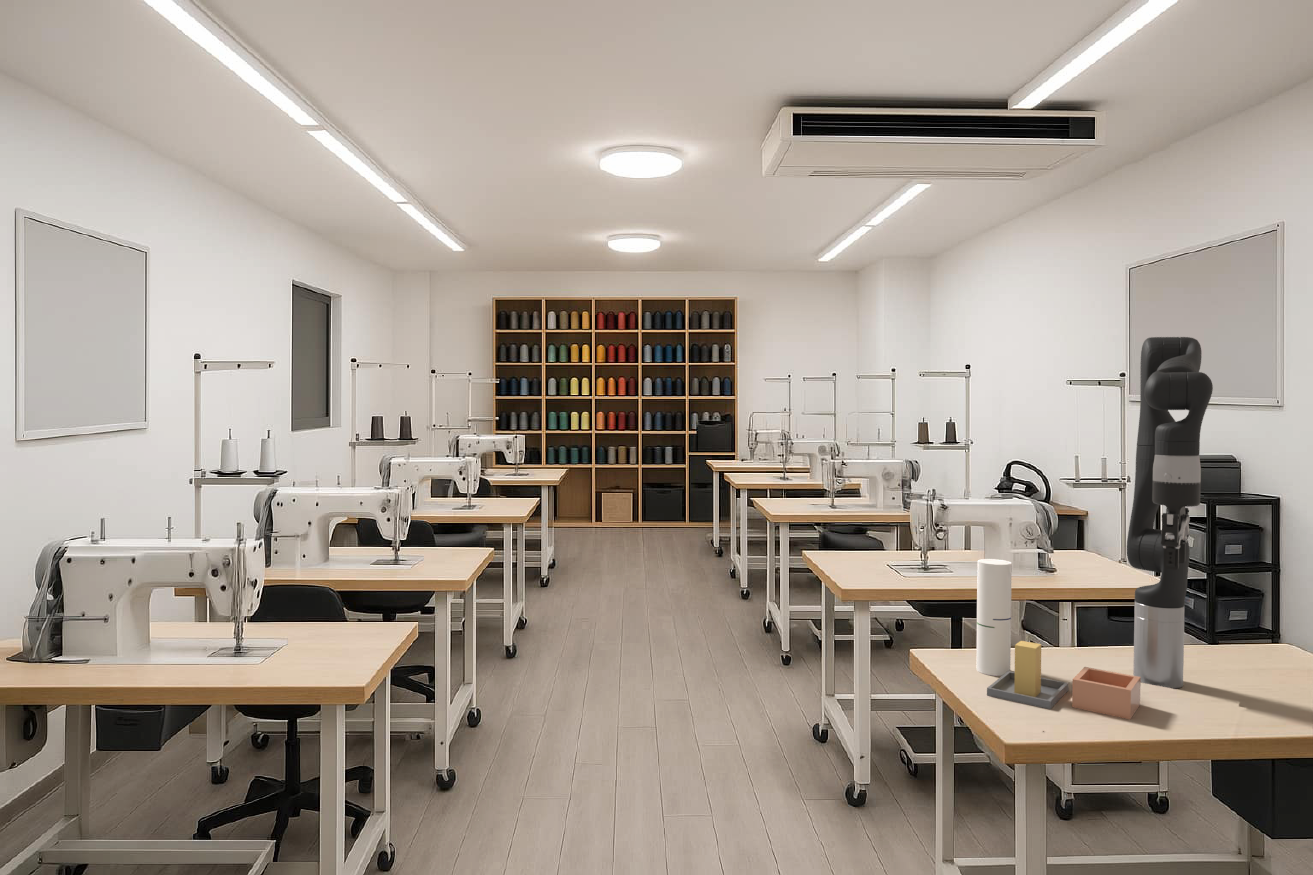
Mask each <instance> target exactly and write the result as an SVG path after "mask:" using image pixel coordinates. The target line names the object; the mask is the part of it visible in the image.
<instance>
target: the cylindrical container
mask: <svg viewBox="0 0 1313 875" xmlns="http://www.w3.org/2000/svg"><path fill="white" fill-rule="evenodd" d="M1012 564H1013V563H1012V561H1008V560H1005V559H998V558H981V559H980V558H979V559H978V560H977V564H976V566H977V572H976V574H977V575H976V576H977V578H976V579H977V580H976V581H977V582H976V590H977V591H976V653H975V654H976V655H975V656H976V660H975V661H976V664H975V665H976V668H975V670H976V671H977V672H978V673H981V674H982V675H983V674H984V675H988V676H994V677H1001V676H1003V675H1004V674H1005V673H1006V672H1008V671H1011V658H1012V657H1011V655H1012V654H1011V651H1012V650H1011V648H1012V647H1011V646H1012V644H1011V643H1012V635H1011V634H1012Z"/></svg>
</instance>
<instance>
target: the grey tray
mask: <svg viewBox="0 0 1313 875" xmlns="http://www.w3.org/2000/svg"><path fill="white" fill-rule="evenodd" d="M1014 684H1015V671H1011V670H1010V671H1008V672H1006V673H1005V674H1004V675H1003V676H999V677H998V679H996V680H995V681H994V682H992V683H991V684H989V686H988V687H986V696H989V697H991V698H997V699H1000V700H1001V699H1002V700H1006V701H1009V702H1010V701H1011V702H1015V703H1020V704H1023V705H1029V706H1034V707H1037V708H1042V709H1047V710H1051V709H1053V707H1054V706H1055V705H1056V704H1057V703H1058V702H1059V701H1060V700H1061V699H1062V698H1063V697H1064V696H1065V695H1066V694H1067V692H1068V691H1069V682H1066V681H1060V680H1056V679H1051V678H1045V677H1041V692H1040V693H1039V694H1038V695H1037V696H1036V697H1032V696H1027V695H1022V694H1018V693H1014Z"/></svg>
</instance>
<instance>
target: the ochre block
mask: <svg viewBox="0 0 1313 875" xmlns="http://www.w3.org/2000/svg"><path fill="white" fill-rule="evenodd" d="M1014 672H1015V684H1014V693H1018V694H1022V695H1027V696H1032V697H1036V696H1037V695H1038V694H1039V693H1040V692H1041V678H1042V644H1041V643H1036V642H1030V641H1026V640H1025V641H1024V640H1020V641H1018V642H1017V643H1016V644H1015V645H1014Z"/></svg>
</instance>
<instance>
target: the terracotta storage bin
mask: <svg viewBox="0 0 1313 875" xmlns="http://www.w3.org/2000/svg"><path fill="white" fill-rule="evenodd" d="M1141 684H1142V683H1141V677H1138V676H1133V675H1132V674H1127V673H1121V672H1115V671H1112V670H1111V671H1110V670H1105V669H1099V668H1093V667H1087V666H1084V667H1083V668H1082V669H1081V670H1080V671H1079V672H1078V673H1077V674H1076V675H1075V676H1074V677H1073V678H1072V685H1071V686H1072V690H1071V691H1072V694H1071V698H1072V700H1071V703H1072V704H1071V707H1072V708H1074V709H1078V710H1079V709H1080V710H1083V711H1089V712H1094V713H1099V714H1102V715H1103V714H1104V715H1107V716H1112V717H1117V718H1122V719H1127V720H1131V719H1132V718H1133V716H1134V715H1135V713H1136V711H1138V708H1139V707H1140V705H1141Z"/></svg>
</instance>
